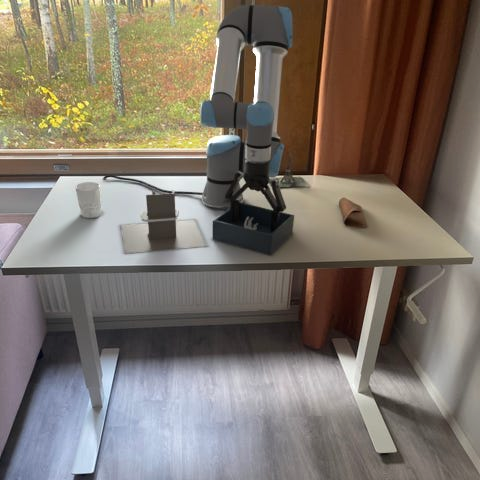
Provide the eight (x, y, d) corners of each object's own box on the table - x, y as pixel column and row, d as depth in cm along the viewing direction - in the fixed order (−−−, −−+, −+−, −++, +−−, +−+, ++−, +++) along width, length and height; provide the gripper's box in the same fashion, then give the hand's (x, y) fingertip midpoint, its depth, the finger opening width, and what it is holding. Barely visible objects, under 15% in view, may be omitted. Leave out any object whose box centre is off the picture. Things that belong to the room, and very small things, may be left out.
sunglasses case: (368, 226, 173) (361, 210, 170) (349, 235, 175) (342, 219, 172) (360, 205, 188) (354, 190, 184) (343, 214, 190) (336, 199, 187)
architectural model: (120, 225, 168) (115, 183, 159) (194, 219, 174) (193, 178, 165) (125, 253, 152) (120, 207, 144) (206, 246, 158) (206, 202, 150)
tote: (212, 239, 162) (212, 220, 158) (237, 219, 175) (238, 201, 171) (270, 255, 155) (272, 235, 151) (292, 233, 168) (294, 215, 164)
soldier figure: (264, 230, 170) (266, 235, 158) (253, 240, 171) (254, 245, 159) (249, 213, 168) (249, 216, 156) (238, 222, 169) (238, 227, 157)
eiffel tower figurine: (300, 177, 211) (304, 145, 203) (309, 186, 203) (313, 153, 195) (266, 179, 208) (268, 146, 200) (273, 188, 200) (276, 154, 192)
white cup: (107, 212, 176) (104, 184, 170) (93, 220, 170) (89, 192, 164) (89, 207, 179) (85, 180, 173) (74, 215, 173) (70, 187, 167)
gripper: (214, 155, 152) (214, 220, 164) (291, 171, 143) (284, 238, 156) (226, 149, 157) (225, 212, 170) (301, 163, 149) (293, 229, 161)
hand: (253, 225), depth 163 cm, fingers open, 13 cm apart
